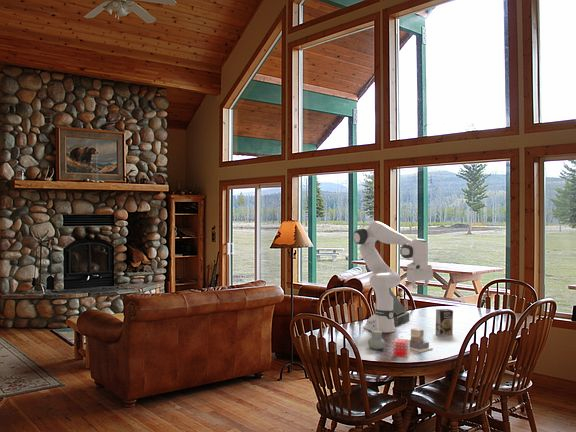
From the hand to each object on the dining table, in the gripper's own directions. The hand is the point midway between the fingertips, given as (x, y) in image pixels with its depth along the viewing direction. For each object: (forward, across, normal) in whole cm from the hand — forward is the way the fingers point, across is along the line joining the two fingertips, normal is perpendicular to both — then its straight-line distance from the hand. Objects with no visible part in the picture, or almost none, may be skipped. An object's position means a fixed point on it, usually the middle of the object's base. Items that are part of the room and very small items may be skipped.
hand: (420, 287), depth 332 cm
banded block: (+32, +13, +10) cm, 36 cm away
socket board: (+33, +13, +10) cm, 37 cm away
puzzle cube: (+34, +31, +15) cm, 48 cm away
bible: (+34, -29, -53) cm, 69 cm away
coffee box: (+33, -29, -5) cm, 45 cm away
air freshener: (+33, +34, -2) cm, 47 cm away
